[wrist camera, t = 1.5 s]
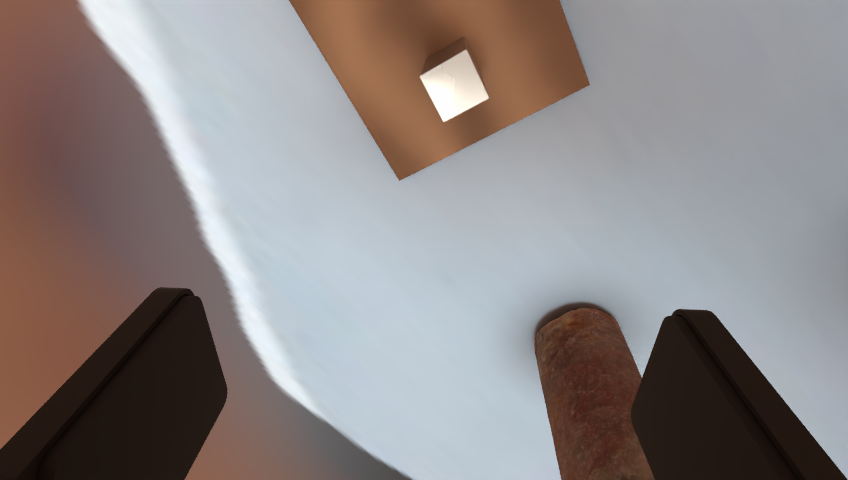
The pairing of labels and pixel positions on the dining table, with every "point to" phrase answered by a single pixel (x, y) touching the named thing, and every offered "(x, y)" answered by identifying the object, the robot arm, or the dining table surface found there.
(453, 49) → the brown post
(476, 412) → the dining table surface
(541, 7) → the board
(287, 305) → the dining table surface
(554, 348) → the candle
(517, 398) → the dining table surface
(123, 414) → the robot arm
